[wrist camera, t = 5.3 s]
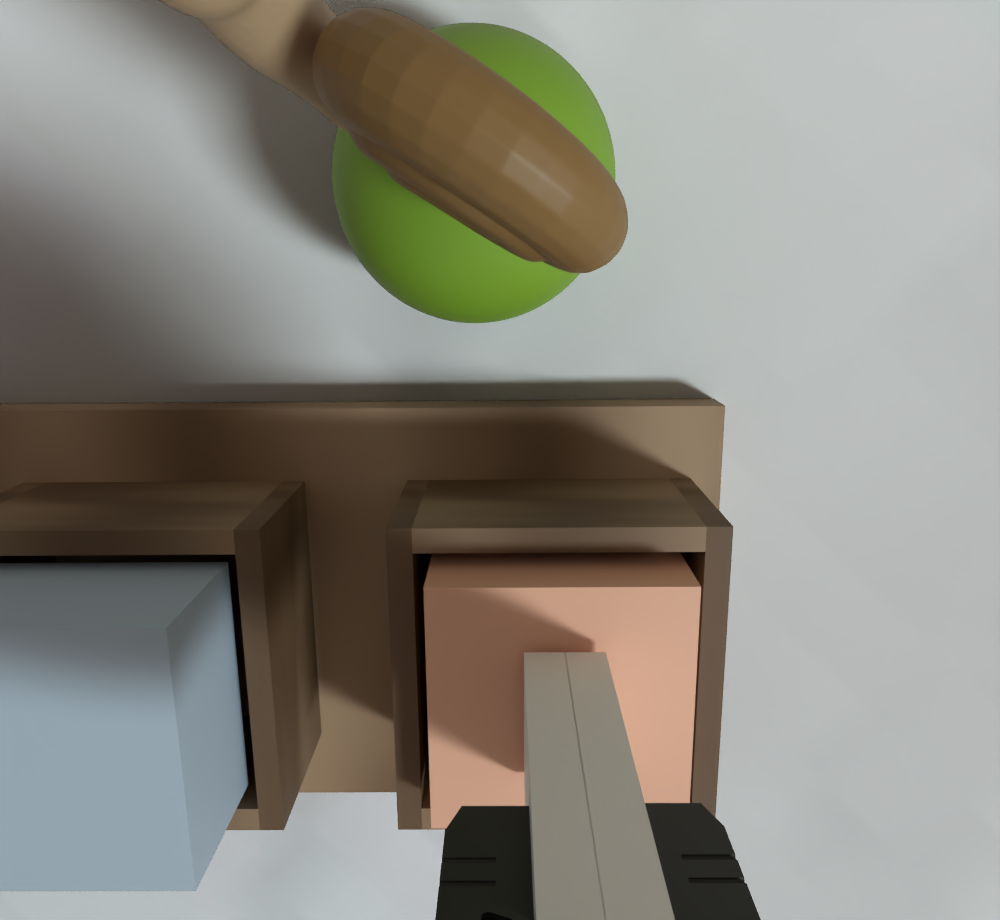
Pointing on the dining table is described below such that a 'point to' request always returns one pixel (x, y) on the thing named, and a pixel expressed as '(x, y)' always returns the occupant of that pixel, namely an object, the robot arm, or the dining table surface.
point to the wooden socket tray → (366, 545)
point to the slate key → (116, 724)
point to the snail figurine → (445, 150)
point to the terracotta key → (555, 628)
